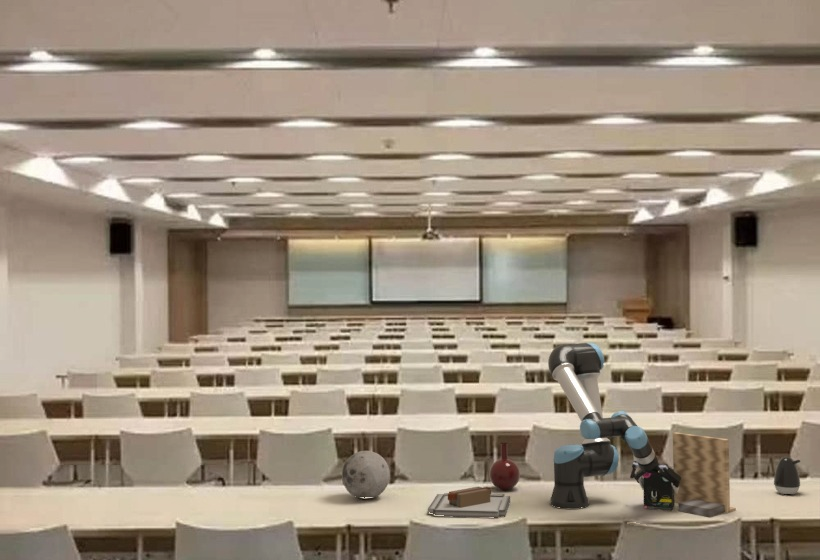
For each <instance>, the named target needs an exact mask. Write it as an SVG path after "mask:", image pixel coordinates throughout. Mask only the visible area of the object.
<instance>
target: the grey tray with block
mask: <svg viewBox="0 0 820 560" xmlns="http://www.w3.org/2000/svg"><path fill="white" fill-rule="evenodd" d="M509 503H510V504H511V495H505V494H504V493H492V487H489V486H484V487H482V486H475V487H469V488H463V489H458V490H451V491H448V492H444V493H442V494H441V493H440V494H439V493H438V494H436V496H435V497H434V499H433V501H432V502H431V503H430V505H429V506H428V508H427V513H428V512H430V513H433V514H435V515H444V516H453V517H452V518H466V517H494V518H493V519H499V518H498V517H499V516H504V517H503V518H506V517H507V513H508V510H509V507H510V504H509Z"/></svg>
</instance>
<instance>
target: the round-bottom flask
mask: <svg viewBox="0 0 820 560" xmlns="http://www.w3.org/2000/svg"><path fill="white" fill-rule="evenodd" d="M508 444H509V443H508V442H500V449H501V450H500V452H501V453H500V457H501V458H499V459H497V460H496V461H495V462H494V463H493V462H492V464H491V466H490V469H489V479H490V480H489V481H490V482H491V484H492V485H493V486H494V487H495V488H497V489H499V490H502V491H507V490H510V489H513V488H514V487H516V486H517V484H518V483H519V482H520V478H521V471H520V468H519V466H518V464H517V463H516V462H515V461H513V460H511V459H509V458H508Z"/></svg>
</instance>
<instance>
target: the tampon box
mask: <svg viewBox="0 0 820 560" xmlns="http://www.w3.org/2000/svg"><path fill="white" fill-rule="evenodd" d="M671 469H672V470H673V471H674V469H673V468H671ZM658 473H659V471H658ZM643 479H644V490H643V509H648V510H660V511H672V510H673V508H674V506H675V503H674V489H673V487H672V485H671V483H672V482H670V481H668V480H667V479H665V478H663V477H662V476H658V475H656V474H653V473H647V472H646V473H645V474H643Z"/></svg>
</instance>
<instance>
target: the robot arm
mask: <svg viewBox="0 0 820 560" xmlns="http://www.w3.org/2000/svg"><path fill="white" fill-rule="evenodd" d="M547 364H548V365H547V366H548V367H547V368H548V371H549V373H550V375H551V377H552V379H553V380H555V381H557V382H558V384H559V385H560V387H561V389H562V391H563V393H564V394H565V396H566V398H567V399H568V401H569V402H570V404H571V406H572V408H573V409H574V411H575V413H576V415H577V416H578V418H579V420H580V421H581V422H580V424H579V431H580V434H581V436H582V438H583V439H584V440H583V441H582V443H581V444H566V445H565V444H564V445H560V446H559V447H557V448H555V450H554V452H553V471H554V473H553V476H554V477H553V479H554V485H553V489H552V493H551V496H550V506H551V505H553V506H555V507H554V508H557V507H560V508H559V509H563V508H579V509H582V508H581V507H584V508H586V507H585V506H587V507H589V502H590V501H589V497H588V495H587V492H586V489H585V483H584V481H585V479H584V478H590V477H600V476H607V475H611V474H613V473H615V472H616V470H617V468H618V466H619V459H620V458H619V457H620V456H619V452H618V449H617V448H616V446H614V445H613V444H612V443H611V440H610V439H609V438H619V437H620V438H621V439H622V440H623V441H624V442H625V443H626V445H627V446H628V447H629V448H630V450H631V452H632V454H633V456H634V458H635V460H633V462H632V465H631V468H632V469H631V473H630V476H629V478H630V479H634V480H636V482H637V484H639V486H640V488H641V490H642V491H644V474H645V473H646V472H647V473H653V474H656V475H658V476H662V477H663V478H665V479H667V480H668V481H670V482H672V483H671V485H672V487H673V489H674V491H675V493H676V494H678V490H679V483H680V481H681V477H680V476H679V475H678V474H677V473H675V472H674V471H673V470H672V469H673V468H671V467H670V466H669V465H668V464H667V463H663V464H662V465H661V464H660V463H659V460H658V457H657V455H656V453H655V451H654V448H653V446H652V444H651V443H650V439H649V438H648V435H647V433H646V432H645V430H644V429H643V428H642V427H640V426H638V425H637V423H636V422H635V421H634V420H633V417H631V416H630V415H629V414H628V413H627V412H626V411H623V410H617V412H614V413H613V414H612V415H611V417H604V416H603V409H602V401H601V395H600V387H599V382H598V379H599V376H600V375H601V371H602V370H603V368H604V366H605V365H604V364H605V357H604V353H603V351H602V349H601V348H600V347H599V346H598V345H597V344H596V343H590V342H589V343H588V342H583V343H566V344H565V343H564V344H560V345H557V346H555V348H554V349H553V350H552V351H551V352H550V354H549V357H548V363H547ZM637 468H640V469H639V470H638V471H637ZM658 471H659V473H658ZM553 506H552V507H553Z"/></svg>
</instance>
